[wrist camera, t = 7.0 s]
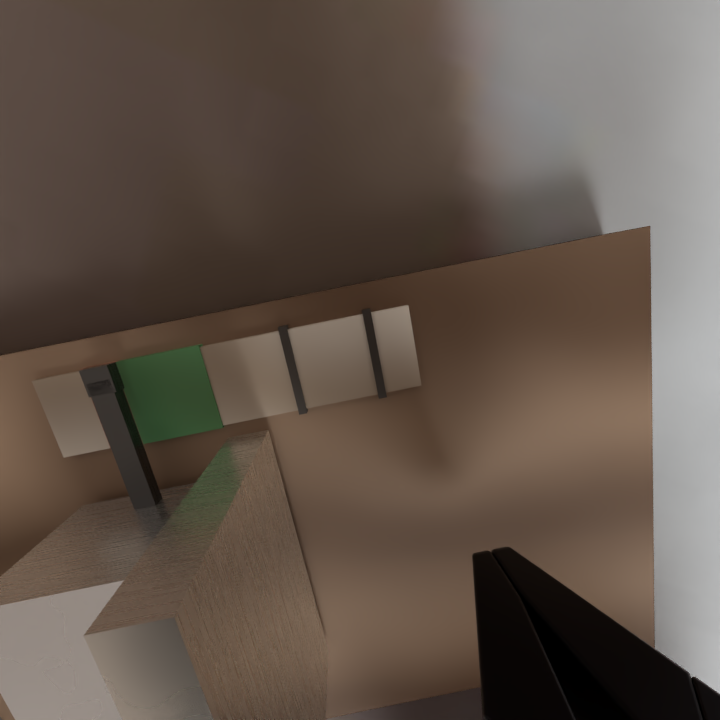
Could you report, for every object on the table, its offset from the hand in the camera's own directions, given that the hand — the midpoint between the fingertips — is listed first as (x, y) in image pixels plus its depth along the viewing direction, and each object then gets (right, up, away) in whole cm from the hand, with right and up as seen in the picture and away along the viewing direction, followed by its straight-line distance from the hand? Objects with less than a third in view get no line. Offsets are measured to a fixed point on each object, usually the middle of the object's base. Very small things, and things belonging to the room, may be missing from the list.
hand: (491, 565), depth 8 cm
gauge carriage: (-9, 0, +1) cm, 9 cm away
